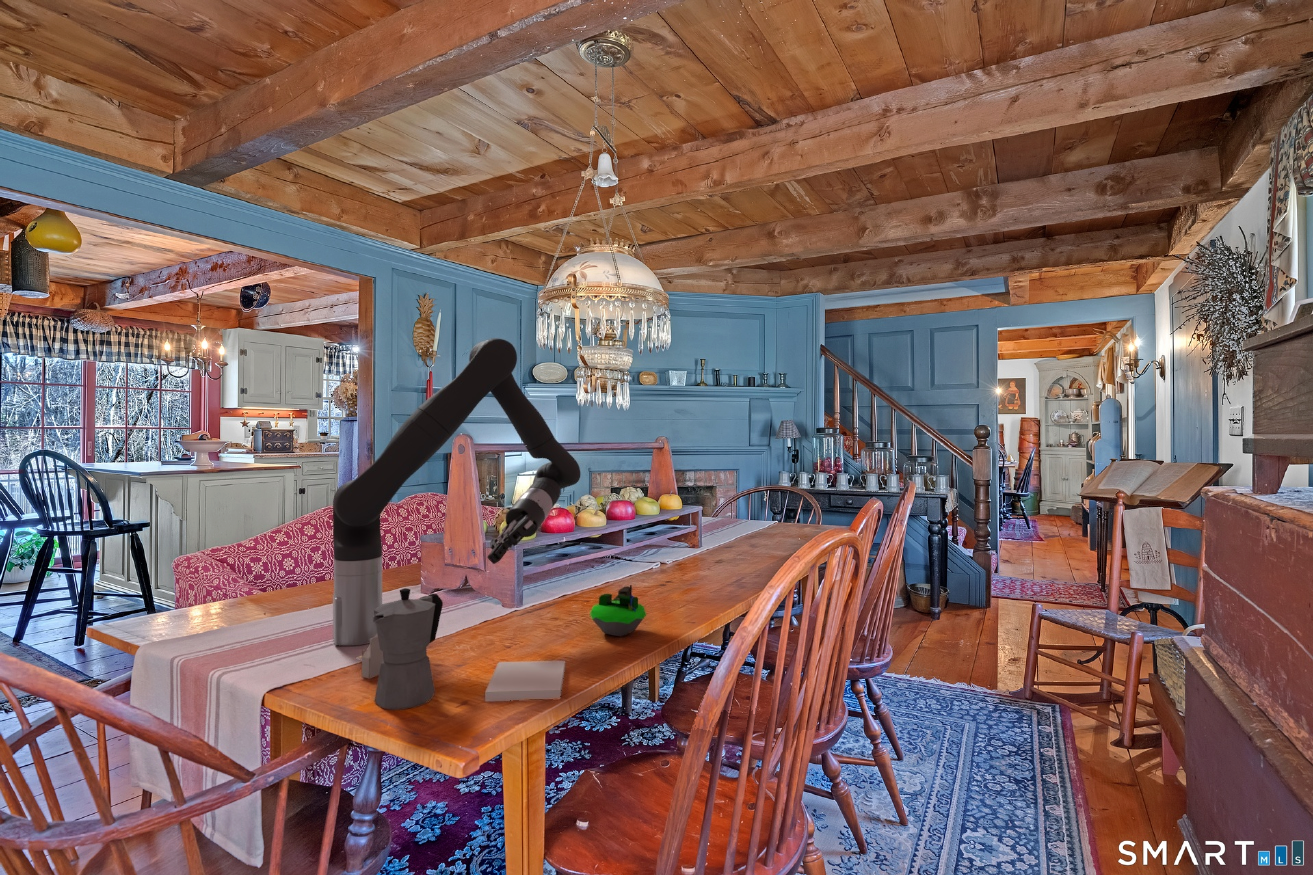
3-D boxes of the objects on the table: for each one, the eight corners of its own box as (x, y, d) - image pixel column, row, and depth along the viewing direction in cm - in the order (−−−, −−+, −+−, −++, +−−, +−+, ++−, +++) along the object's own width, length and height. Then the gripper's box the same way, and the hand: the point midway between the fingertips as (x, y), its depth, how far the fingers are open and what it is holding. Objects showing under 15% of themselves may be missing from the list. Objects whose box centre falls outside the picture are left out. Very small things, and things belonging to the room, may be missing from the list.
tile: (498, 672, 122) (485, 704, 108) (498, 662, 122) (485, 691, 108) (565, 671, 123) (560, 701, 109) (565, 660, 123) (560, 689, 109)
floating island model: (654, 631, 147) (655, 581, 147) (626, 645, 137) (627, 591, 137) (608, 623, 153) (609, 575, 153) (578, 636, 143) (579, 584, 143)
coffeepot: (398, 719, 102) (398, 600, 101) (351, 709, 105) (350, 595, 105) (463, 683, 116) (463, 579, 116) (419, 676, 119) (419, 575, 119)
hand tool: (616, 623, 153) (616, 603, 153) (599, 622, 154) (599, 602, 154) (639, 603, 172) (639, 585, 172) (624, 602, 173) (624, 584, 173)
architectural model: (355, 678, 120) (355, 636, 120) (385, 665, 126) (385, 626, 126) (369, 681, 118) (369, 639, 118) (399, 668, 125) (399, 628, 125)
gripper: (499, 512, 151) (460, 559, 136) (537, 486, 145) (500, 532, 130) (522, 536, 153) (485, 585, 138) (560, 511, 146) (526, 560, 132)
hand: (492, 559), depth 134 cm, fingers closed
